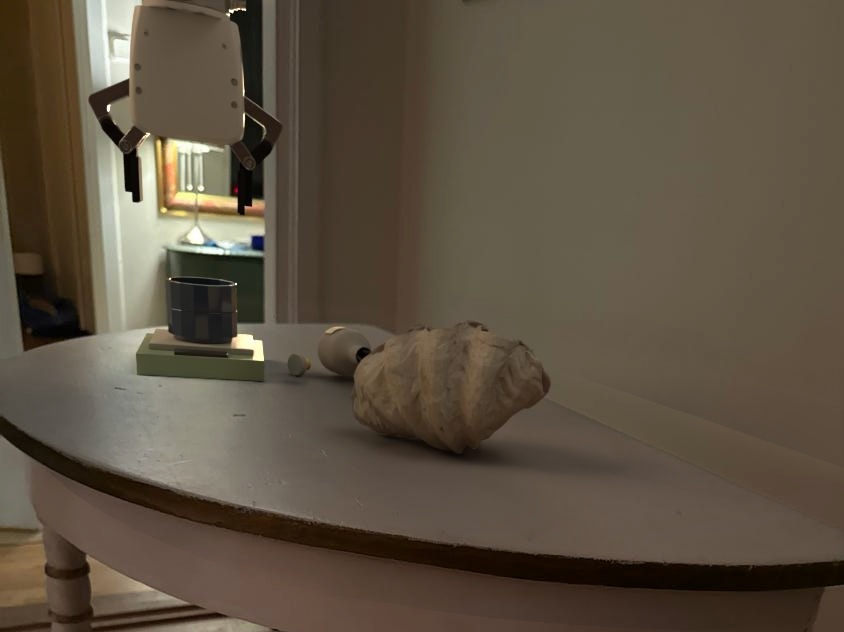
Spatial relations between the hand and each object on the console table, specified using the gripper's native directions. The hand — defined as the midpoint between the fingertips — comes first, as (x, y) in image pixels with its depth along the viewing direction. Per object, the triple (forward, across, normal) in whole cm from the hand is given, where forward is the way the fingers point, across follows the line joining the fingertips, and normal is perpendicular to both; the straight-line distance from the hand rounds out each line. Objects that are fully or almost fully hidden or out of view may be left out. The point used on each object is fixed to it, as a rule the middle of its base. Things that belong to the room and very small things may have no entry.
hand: (190, 208), depth 88 cm
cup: (+12, -1, 0) cm, 12 cm away
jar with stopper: (+15, -17, +10) cm, 24 cm away
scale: (+15, -1, +1) cm, 15 cm away
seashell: (+15, -21, +29) cm, 38 cm away
